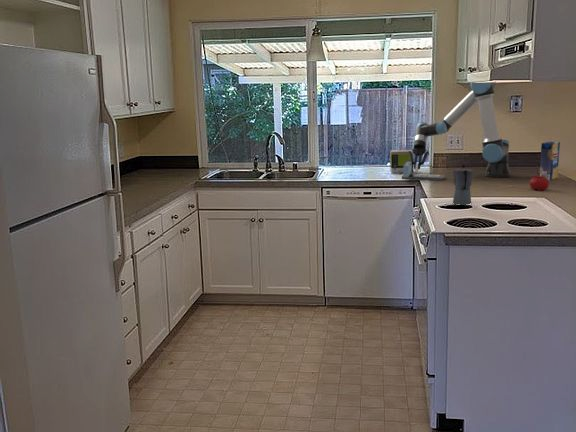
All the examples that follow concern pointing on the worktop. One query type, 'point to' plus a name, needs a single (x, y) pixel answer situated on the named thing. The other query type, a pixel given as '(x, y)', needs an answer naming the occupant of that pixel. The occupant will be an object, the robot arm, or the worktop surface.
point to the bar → (407, 169)
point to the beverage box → (549, 160)
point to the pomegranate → (539, 183)
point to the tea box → (399, 160)
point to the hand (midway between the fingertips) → (416, 173)
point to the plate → (425, 177)
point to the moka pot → (462, 185)
